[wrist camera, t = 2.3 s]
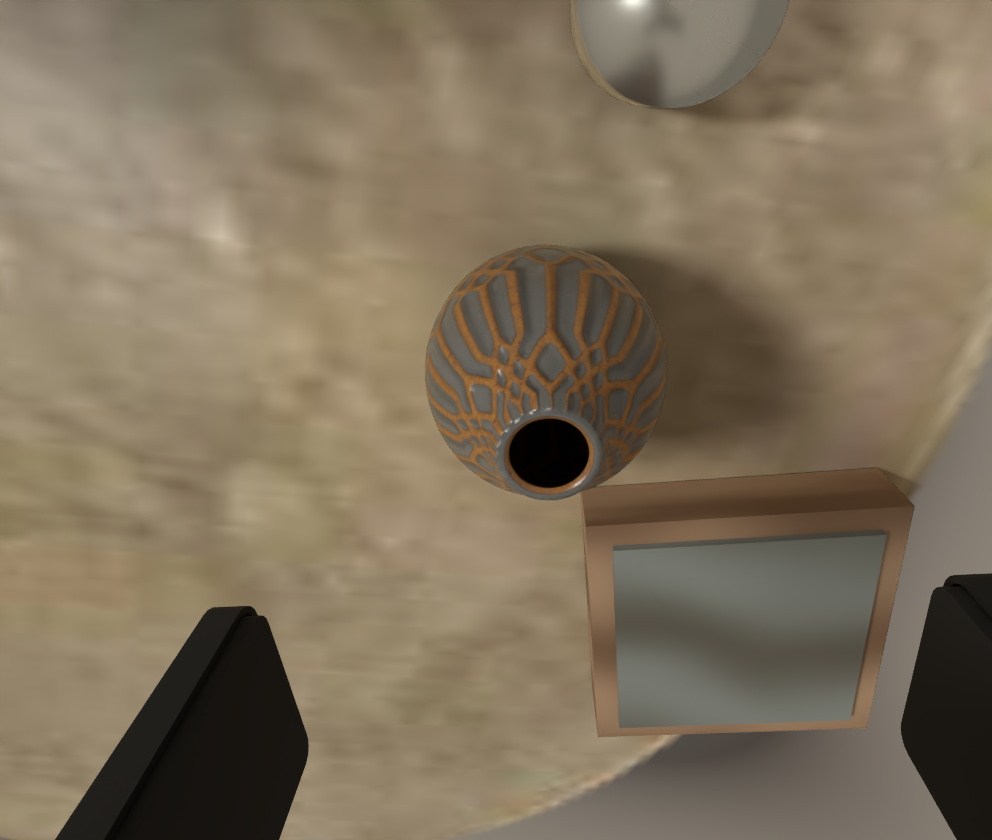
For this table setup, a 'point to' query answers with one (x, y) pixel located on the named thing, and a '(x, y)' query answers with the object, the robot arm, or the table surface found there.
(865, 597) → the plinth
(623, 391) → the vase
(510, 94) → the table surface
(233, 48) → the table surface
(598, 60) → the tin
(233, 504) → the table surface
